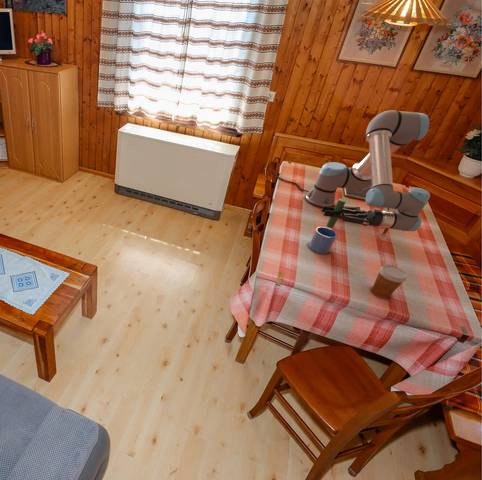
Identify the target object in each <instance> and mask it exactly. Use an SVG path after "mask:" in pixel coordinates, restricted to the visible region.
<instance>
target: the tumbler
mask: <svg viewBox="0 0 482 480" xmlns="http://www.w3.org/2000/svg"><path fill="white" fill-rule="evenodd" d="M337 237H338V233H337V231H335V230H334V229H333V228H329V227H327V226H318V227H316V229H315V230H314V233H313V235H312V237H311V239H310V242H309V244H308V248H309V249H310V250H311V251H313V252H315V253H317V254H322V255H327V254H328V253H329V252H330V251H331V249H332V247H333V245H334V243H335V241H336V239H337Z"/></svg>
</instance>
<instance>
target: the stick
mask: <svg viewBox="0 0 482 480" xmlns="http://www.w3.org/2000/svg"><path fill="white" fill-rule="evenodd" d="M346 202H347V200H346V199H345V198H338V200H337V202H336V203H335V206H334V207H335V208H334V210H333V211H337V212H341V211H342V209H343V207H344V206H346V205H345V204H346ZM338 220H339V218H336V217H329V218H328V221H327V223H326V228H329V229H333V228H334V227H335V225H336V223H337V221H338Z"/></svg>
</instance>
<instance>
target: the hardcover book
mask: <svg viewBox="0 0 482 480" xmlns="http://www.w3.org/2000/svg"><path fill="white" fill-rule="evenodd" d="M342 189H343V193H344V197H347V198H352V199H356V200H357V199H358V200H362V201H365V198H366V194H367V192H368V191H369V190H370V189H372V187H370V188H368V189H366V190H353V189H346V188H342Z"/></svg>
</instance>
